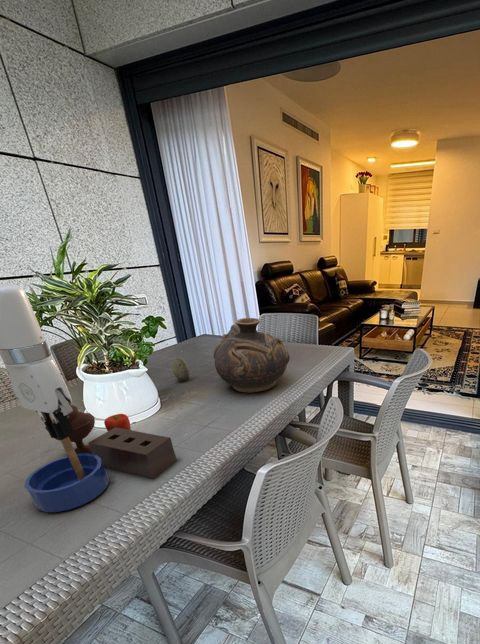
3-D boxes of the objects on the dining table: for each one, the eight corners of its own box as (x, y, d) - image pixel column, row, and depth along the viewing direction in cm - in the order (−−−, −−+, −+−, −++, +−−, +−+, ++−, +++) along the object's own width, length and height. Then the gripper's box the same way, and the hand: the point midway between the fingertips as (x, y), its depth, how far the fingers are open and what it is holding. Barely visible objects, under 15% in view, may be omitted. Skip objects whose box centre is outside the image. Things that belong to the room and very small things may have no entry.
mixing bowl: (21, 506, 78) (8, 484, 75) (80, 469, 90) (71, 449, 87) (67, 520, 73) (56, 498, 71) (123, 479, 85) (115, 459, 82)
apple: (123, 432, 107) (116, 409, 103) (139, 435, 104) (131, 412, 101) (106, 442, 101) (97, 419, 98) (122, 446, 99) (113, 422, 96)
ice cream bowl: (114, 445, 100) (95, 397, 92) (76, 467, 91) (52, 415, 84) (89, 438, 104) (70, 392, 96) (50, 458, 95) (26, 408, 88)
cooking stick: (78, 483, 82) (46, 414, 73) (84, 479, 83) (54, 411, 75) (83, 484, 82) (52, 415, 73) (89, 480, 83) (59, 412, 74)
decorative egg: (172, 382, 142) (166, 358, 137) (182, 377, 147) (176, 353, 142) (185, 383, 140) (179, 359, 135) (194, 378, 145) (189, 354, 140)
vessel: (240, 369, 152) (234, 309, 140) (300, 378, 144) (299, 316, 132) (202, 393, 130) (191, 324, 117) (270, 405, 122) (266, 333, 110)
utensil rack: (97, 465, 91) (88, 442, 88) (123, 449, 98) (115, 427, 94) (153, 478, 85) (145, 454, 82) (176, 460, 92) (170, 437, 89)
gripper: (-22, 356, 67) (21, 438, 76) (33, 363, 62) (72, 450, 71) (19, 345, 73) (55, 423, 82) (72, 351, 68) (104, 433, 77)
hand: (63, 435), depth 76 cm, fingers closed on cooking stick, 1 cm apart
